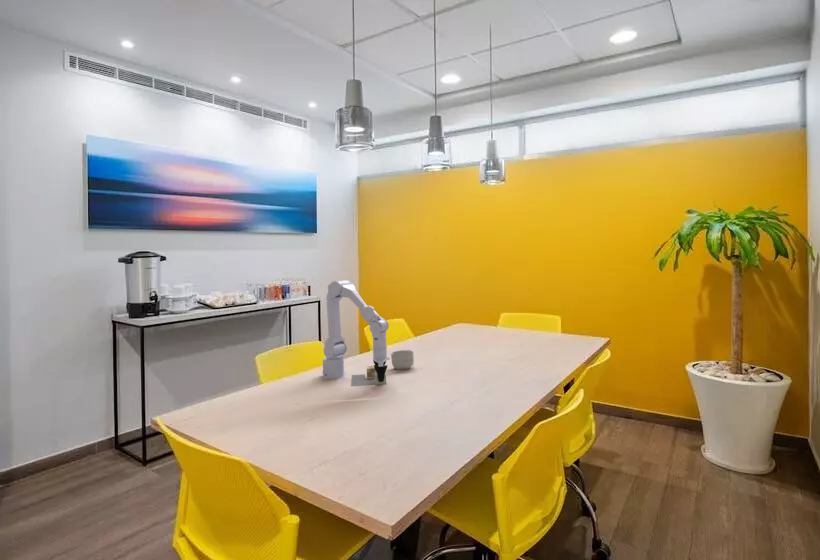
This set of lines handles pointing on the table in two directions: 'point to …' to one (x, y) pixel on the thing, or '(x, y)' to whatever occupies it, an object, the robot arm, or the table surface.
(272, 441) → the table surface
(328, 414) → the table surface
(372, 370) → the maple block
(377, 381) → the sage block
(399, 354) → the teacup
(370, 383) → the baseplate
